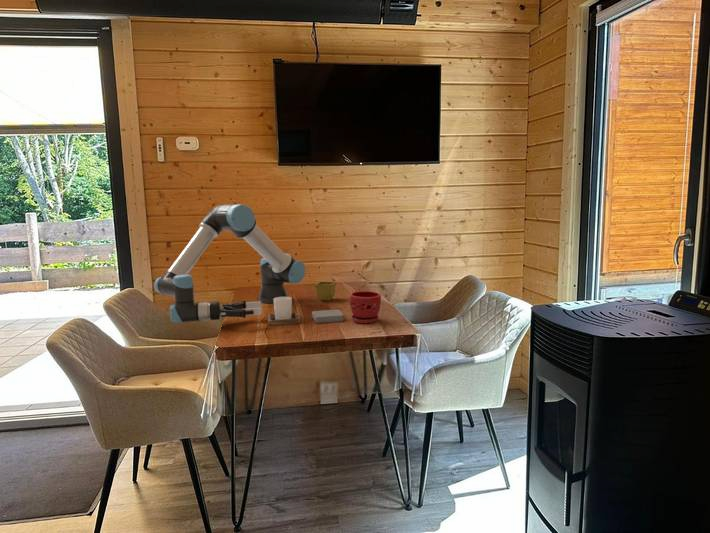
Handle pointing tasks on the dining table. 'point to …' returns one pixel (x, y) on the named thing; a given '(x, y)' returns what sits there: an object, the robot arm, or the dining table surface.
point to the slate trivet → (327, 316)
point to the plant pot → (365, 306)
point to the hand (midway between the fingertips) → (261, 307)
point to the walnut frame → (283, 320)
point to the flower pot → (325, 290)
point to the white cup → (282, 307)
